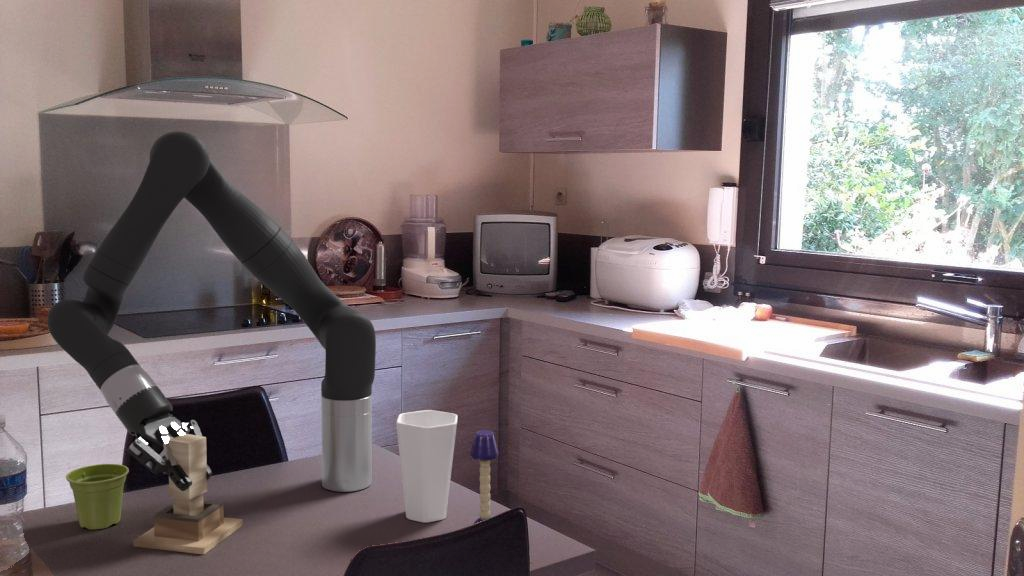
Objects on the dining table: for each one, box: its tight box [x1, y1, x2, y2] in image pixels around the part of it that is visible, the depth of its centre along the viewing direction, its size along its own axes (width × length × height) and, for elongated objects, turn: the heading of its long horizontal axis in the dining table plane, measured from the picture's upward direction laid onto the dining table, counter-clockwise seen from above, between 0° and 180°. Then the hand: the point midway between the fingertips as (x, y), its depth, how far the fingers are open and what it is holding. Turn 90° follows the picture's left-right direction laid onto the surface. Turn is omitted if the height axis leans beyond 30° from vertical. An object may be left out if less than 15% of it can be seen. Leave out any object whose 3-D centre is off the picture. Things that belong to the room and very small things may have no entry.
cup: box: [395, 409, 458, 523], centre depth 154 cm, size 11×10×17 cm
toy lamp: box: [469, 429, 499, 524], centre depth 148 cm, size 5×5×17 cm
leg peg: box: [168, 434, 208, 516], centre depth 143 cm, size 4×4×13 cm
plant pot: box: [65, 463, 130, 530], centre depth 148 cm, size 9×9×9 cm
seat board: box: [132, 499, 244, 555], centre depth 144 cm, size 12×12×4 cm
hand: (197, 482), depth 142 cm, fingers closed on leg peg, 4 cm apart
